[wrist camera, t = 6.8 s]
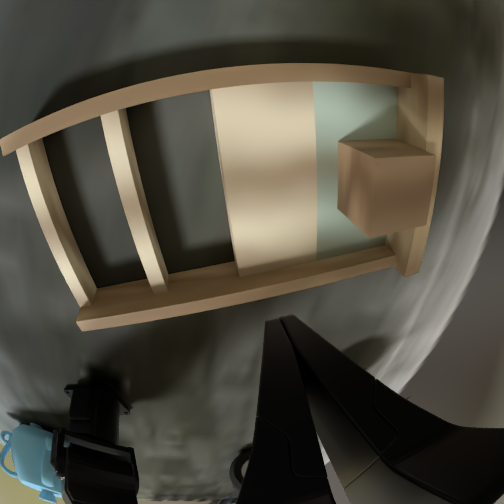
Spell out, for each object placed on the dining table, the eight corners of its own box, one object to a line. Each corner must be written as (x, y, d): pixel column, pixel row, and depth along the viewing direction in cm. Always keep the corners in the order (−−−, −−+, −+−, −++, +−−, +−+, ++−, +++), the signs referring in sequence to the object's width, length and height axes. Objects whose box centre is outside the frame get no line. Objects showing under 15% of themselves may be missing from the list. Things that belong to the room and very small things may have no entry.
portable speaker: (224, 450, 42) (234, 498, 34) (278, 440, 44) (292, 486, 36) (231, 477, 56) (239, 510, 47) (269, 470, 57) (279, 502, 49)
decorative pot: (44, 448, 36) (40, 502, 25) (-3, 411, 27) (-14, 475, 16) (107, 455, 39) (109, 516, 27) (63, 420, 30) (57, 500, 19)
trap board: (384, 239, 23) (418, 272, 19) (91, 300, 20) (78, 347, 16) (394, 73, 16) (443, 78, 11) (27, 128, 13) (-16, 146, 8)
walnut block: (390, 199, 19) (426, 225, 15) (337, 208, 18) (369, 238, 15) (395, 138, 16) (436, 155, 13) (337, 141, 16) (375, 158, 12)
